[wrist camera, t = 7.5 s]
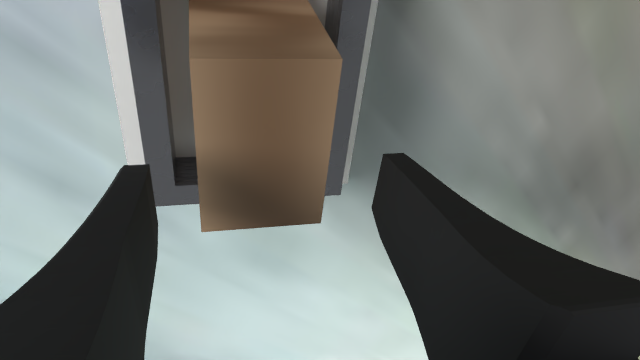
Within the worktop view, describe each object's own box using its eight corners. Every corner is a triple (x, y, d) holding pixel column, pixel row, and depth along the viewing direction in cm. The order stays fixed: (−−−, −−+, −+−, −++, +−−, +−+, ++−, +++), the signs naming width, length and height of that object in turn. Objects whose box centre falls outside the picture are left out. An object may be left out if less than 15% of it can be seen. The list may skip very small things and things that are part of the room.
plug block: (198, 133, 20) (201, 232, 16) (188, -14, 17) (189, 58, 12) (291, 130, 21) (320, 222, 17) (301, -10, 17) (342, 59, 13)
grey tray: (135, 182, 22) (129, 226, 20) (82, -121, 15) (63, -106, 13) (342, 171, 24) (358, 210, 22) (384, -96, 17) (414, -80, 15)
